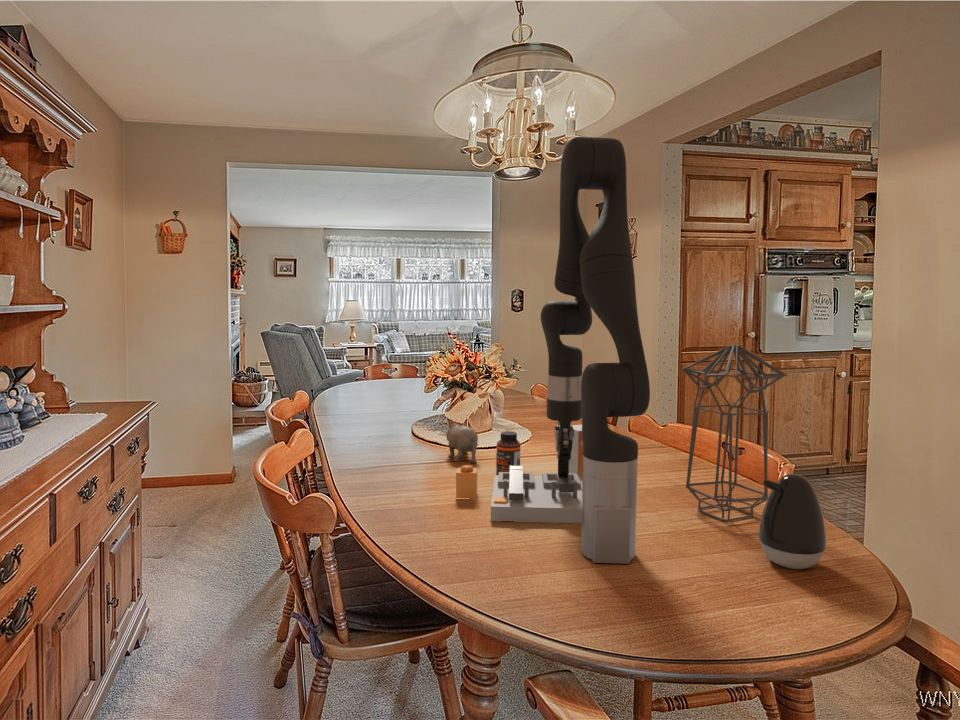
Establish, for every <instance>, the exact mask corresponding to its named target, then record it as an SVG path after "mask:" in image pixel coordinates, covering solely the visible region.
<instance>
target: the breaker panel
mask: <svg viewBox="0 0 960 720" xmlns="http://www.w3.org/2000/svg"><path fill="white" fill-rule="evenodd" d="M534 474H535V473H534V472H527V471H526V472H524V471H523V500H509V479H510V472H499V475H496V474H495V475H494V477H493V478H494V479H493V486H492V494H491V500H490V501H491V502H490V522H501V521H514V523H544V524H545V523H547V524H549V523H550V524H551V523H553V524H554V523H555V524H582V478H581V477H578V474H577V473H569V476H570V478H571V480H572V482H573V484H574V492H559V489H558V486H557V484H556V475H558V472H542V474H541V475H534Z"/></svg>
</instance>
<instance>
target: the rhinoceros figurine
mask: <svg viewBox="0 0 960 720" xmlns="http://www.w3.org/2000/svg"><path fill="white" fill-rule="evenodd" d="M446 440H447V441H448V447H449V454H448V455H447V456H448V457H449V458H451V457H453V461H454V462H459V461H460V462H461V459H462V458H463V457H464V455H468V453H469V452H470V453H471V458H470V462H469V463H470V464H472V465H473V464H478V462H477V459H476V453H477V449H478V446H479V444H478V441H479V436H478V433H477V432H476V431H475V430H474V428H471V427H469V426H467V425H466V423H463V422H462V423H461V424H460V425H459V424H457V423H455V422H453V423H452V425H451V426H450V427H449V429H448V431H447V432H446ZM455 450H456V451H458V452H457V454H456V455H455Z"/></svg>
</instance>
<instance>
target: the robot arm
mask: <svg viewBox="0 0 960 720" xmlns="http://www.w3.org/2000/svg"><path fill="white" fill-rule="evenodd" d="M560 161H561V162H560V175H559V176H560V179H559V180H560V181H559V182H560V183H559V240H558V241H559V243H558V245H559V246H558V253H557V260H556V268H555V275H554V288H555V290H556V291H557V292H559V293H561V294H563V295H567V296H572V297H574V300H572V301H571V300H570V301H569V300H560V301H559V300H554V301H553V300H551V301H547V302H546V303H545V304H544V305H543V306H542V309H541V311H540V323H541V328H542V331H543V334H544V338H545V342H546V347H547V353H548V366H547V367H548V375H547V383H546V384H547V385H546V413H545V415H546V418H547V420H548V419H549V420H550V421H554V422H555V421H556V422H557V425H554V426H553V428H554V429H553V430H554V431H553V432H554V436H555V437H554V441H555V442H554V443H555V444H554V446H555V452H556V459H557V473H558V477H568V476H569V461H570V458H571V450H572V445H573V437H574V429H573V426H572V425H571V423H573V422H578V421H581V425H582V439H583V481H582V523H581V541H580V542H581V544H580V546H581V547H580V549H581V550H580V552H581V554H582V555H583V556H584V557H585V558H588V559H589V560H591V562H592V563H595V564H625V565H626V564H628V565H629V564H631V561H632V560H633V559H635V557H636V541H637V540H636V535H637V533H636V532H637V499H638V498H637V497H638V496H637V495H638V465H639V464H638V463H639V462H638V461H639V445H638V442H637V440H635V439H634V438H632V437H630V436H627V435H624V434H621V433H619V432H618V433H617V432H615V431H614V430H612V429H610V428H609V424H608V418H624V417H625V418H626V417H639V416H642V415H644V414H645V413H646V412H647V410H648V408H649V405H650V400H651V387H650V377H649V371H648V365H647V362H646V355H645V350H644V346H643V345H644V344H643V340H642V335H641V330H640V324H639V323H640V321H639V315H638V307H637V294H636V293H637V292H636V281H635V280H636V279H635V277H636V276H635V270H634V269H635V268H634V261H633V260H634V259H633V253H632V245H631V240H630V239H631V238H630V228H629V220H628V219H629V218H628V198H627V197H628V196H627V195H628V191H627V188H628V187H627V159H626V153H625V148H624V145H623V143H622V142H621V141H620V139H618V138H614V137H613V138H612V137H602V136H601V137H598V136H572V137H570V138H569V139H567V142H566V143H565V145H564V148H563V151H562V155H561V160H560ZM580 190H590V191H591V190H595V191H602V195H603V206H602V211H601V214H600V216H599V218H598V220H597V222H596V224H595V226H594V227H593V230H592V231H591V232H590V234H589V232H588V230H587V228H586V226H585V224H584V222H583V219H582V215H581V213H580V210H579V209H580V208H579V193H580V192H579V191H580ZM592 311H593V312H594V314H595V315H596V316H597V317H598V319H599V320H600V321H601V323H602V324H603V325H604V327H605V328H606V329H607V332H608V334H610V337H611V338H612V341H613V342H614V345H615V348H616V352H617V353H616V354H617V357H618V360H619V361H618V362H593V363H589V364H587V365H586V366H585V368H584V370H583V351H582V349H581V348H579V347H577V346H572V345H566V344H564V343H563V342H562V340H561V336H581V335H585V334H586V333H588V332H589V330H591V327H592V324H593V313H592Z"/></svg>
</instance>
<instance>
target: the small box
mask: <svg viewBox="0 0 960 720" xmlns="http://www.w3.org/2000/svg"><path fill="white" fill-rule="evenodd" d="M571 426H573V429H574V437H573V445H572V450H571V458H570V461H569V473H577V474H578V477H581V478H582V481H583V439H582V424H575V425H574V424H573V425H571Z"/></svg>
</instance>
